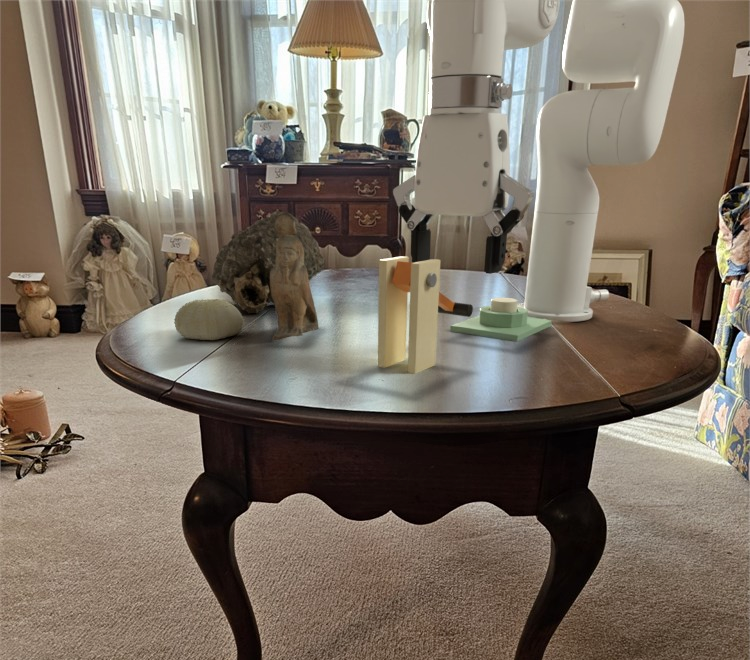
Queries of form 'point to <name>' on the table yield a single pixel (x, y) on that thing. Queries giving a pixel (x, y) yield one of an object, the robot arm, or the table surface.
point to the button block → (502, 324)
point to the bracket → (420, 317)
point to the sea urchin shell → (208, 319)
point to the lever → (444, 304)
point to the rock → (258, 262)
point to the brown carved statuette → (291, 283)
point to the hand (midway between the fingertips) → (455, 268)
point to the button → (504, 305)
